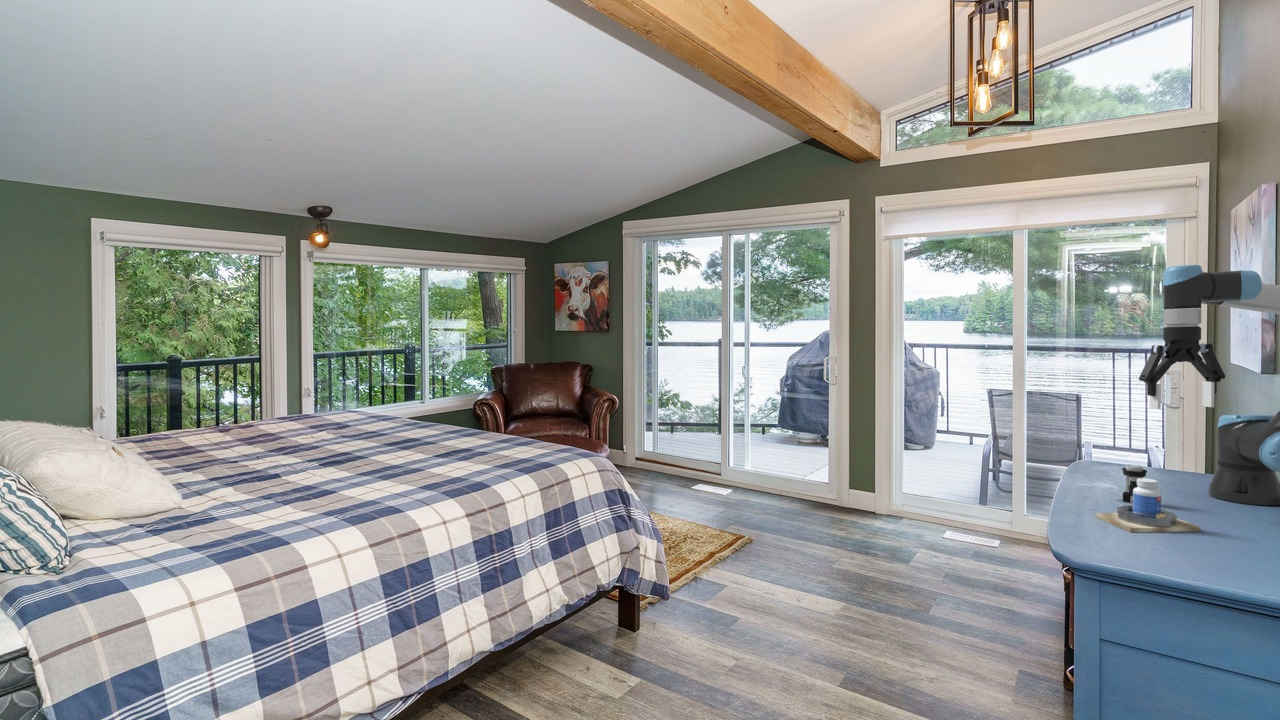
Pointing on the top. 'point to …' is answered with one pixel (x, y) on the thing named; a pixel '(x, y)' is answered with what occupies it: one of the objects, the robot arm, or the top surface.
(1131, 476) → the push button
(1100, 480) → the top surface
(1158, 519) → the ring
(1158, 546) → the top surface
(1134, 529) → the board
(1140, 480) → the pill bottle
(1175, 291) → the robot arm
